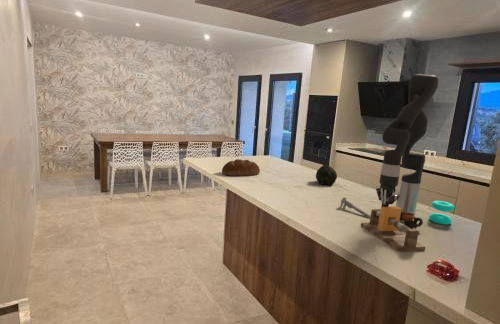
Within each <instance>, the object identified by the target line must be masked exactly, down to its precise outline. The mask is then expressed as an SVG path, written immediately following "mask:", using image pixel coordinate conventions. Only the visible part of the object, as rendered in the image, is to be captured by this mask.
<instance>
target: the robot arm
mask: <svg viewBox="0 0 500 324" xmlns="http://www.w3.org/2000/svg"><path fill="white" fill-rule="evenodd" d="M438 87H439V78H438V76H436V75H432V74H422V73H418V74H417V73H414V74H413V75H412V76H411V78H410V79H409V84H408V104H406V105H405V106H404V107H402V108H401V109H400V111H399V113H398V115H397V117H396V119H394V120H393V121H392V122H391V123H390V124H389V125H388V126H387V127H385V129H384V131H383V133H382V135H381V139H382V141H383V142H384V143H385V144H387V145H393V146H396V147H395V149H386V150H385V151H384V152H383V161H382V165H381V170H380V174H379V176H380V177H379V184H380V185H379V187H376V188H375V191H376V194H377V198H378V201H380V202H381V207H390V205H393V204H394V203H396V204H395V207H399V208H401V212H406V213H412V214H414V215H416V210H417V204H418V199H419V193H420V188H421V187H420V186H421V182H422V174H423V172H424V171H423V170H424V166H425V162H426V155H425V153H423V152H418V151H417V152H416V151H411V149H413V147H414V146H415V145H416V143H417V142H419V141H420V140H421V139H422V138H423V137H424V135H426V133H427V128H428V117H427V114H426V112H425V110H424V109H423V108H424V107H425V106H426V105H427V104H428V102H429V101H430V100H431V99H432V97H433V96H434V95H435V93H436V91H437V89H438ZM401 167H402V168H404V169H407V170H412V171H413V170H414V171H415V172H412V173H408V174H403V175H402V176H401V180H400V174H401ZM399 180H400V187H399V192H398V193H397V194H396V187H397V186H398V185H399ZM381 207H380V208H381Z"/></svg>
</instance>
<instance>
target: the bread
mask: <svg viewBox="0 0 500 324" xmlns="http://www.w3.org/2000/svg"><path fill="white" fill-rule="evenodd" d="M221 173H222V174H223V175H224V176H229V175H230V176H231V177H250V176H251V175H252V176H256V175H259V174H260V173H261V169H260V166H259V165H258V164H257V163H256V162H254V161H251V160H249V159H244V160H243V159H241V158H240V159H239V158H237V159H235V160H230V161H228V162H226V163H225V164H224V165H223V167H222V168H221ZM252 176H251V177H252Z"/></svg>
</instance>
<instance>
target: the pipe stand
mask: <svg viewBox="0 0 500 324" xmlns="http://www.w3.org/2000/svg"><path fill="white" fill-rule="evenodd" d="M380 211H381V208H380V209H379V208H378V209H376V208H375V209H374V208H372V209H371V212H370V215H371V217H370V218H369V222H361V224H360V226H361V227H362V228H363V229H365V230H367V231H368V232H369V233H370V234H373V235H374V236H376V237H377V238H378V239H380V240H381V241H383V242H384V243H385V244H388V245H389V246H390V247H392V248H393V249H394V250H395V251H398V252H399V253H401V252H414V251H415V252H418V251H420V252H421V251H425V250H426V246H425V245H423V244H421V243H420V242H418V236H419V232H420V231H419V230H418V229H417V228H416V229H415V228H414V229H411V228H409V227H407V226H405V225H403V224H404V223H401V222H400V221H396V220H394V219H393V218H391V217H389V220H388V223H390V224H392V225H394V226H395V227H396V228H398V231H381V230H379V229H378V224H379V217H380ZM399 230H401V231H402V232H401V231H399ZM403 232H404V233H403Z"/></svg>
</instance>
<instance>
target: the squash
mask: <svg viewBox="0 0 500 324" xmlns="http://www.w3.org/2000/svg"><path fill="white" fill-rule="evenodd" d="M315 179H316V180H317V184H321V185H327V186H329V185H330V186H331V185H334V184H335V183H336V180H337V179H338V174H337V171H336V170H335V169H334V168H333V167H331V166H330V165H328V164H326V163H325V164H322V166H320V167H319V168H318V169H317V171H316V173H315Z"/></svg>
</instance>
